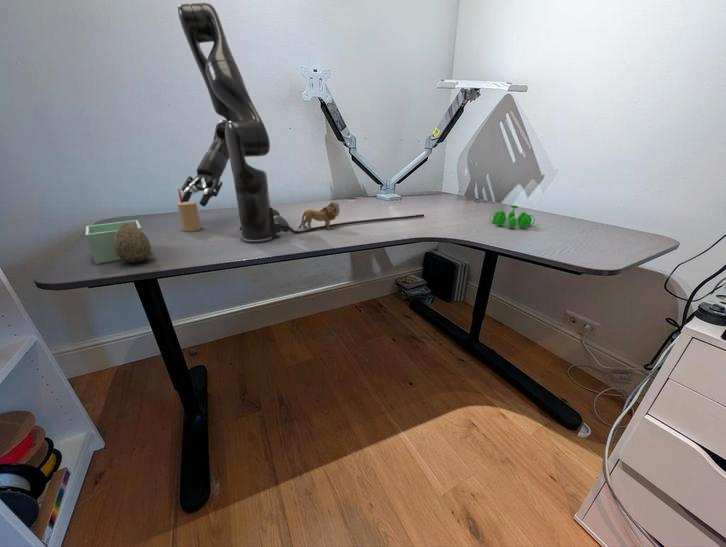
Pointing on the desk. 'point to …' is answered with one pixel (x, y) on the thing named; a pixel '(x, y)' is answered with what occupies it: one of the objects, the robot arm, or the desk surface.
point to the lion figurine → (321, 215)
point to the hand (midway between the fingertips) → (192, 204)
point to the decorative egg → (131, 244)
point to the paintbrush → (280, 219)
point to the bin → (105, 240)
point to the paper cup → (189, 215)
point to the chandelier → (512, 219)
